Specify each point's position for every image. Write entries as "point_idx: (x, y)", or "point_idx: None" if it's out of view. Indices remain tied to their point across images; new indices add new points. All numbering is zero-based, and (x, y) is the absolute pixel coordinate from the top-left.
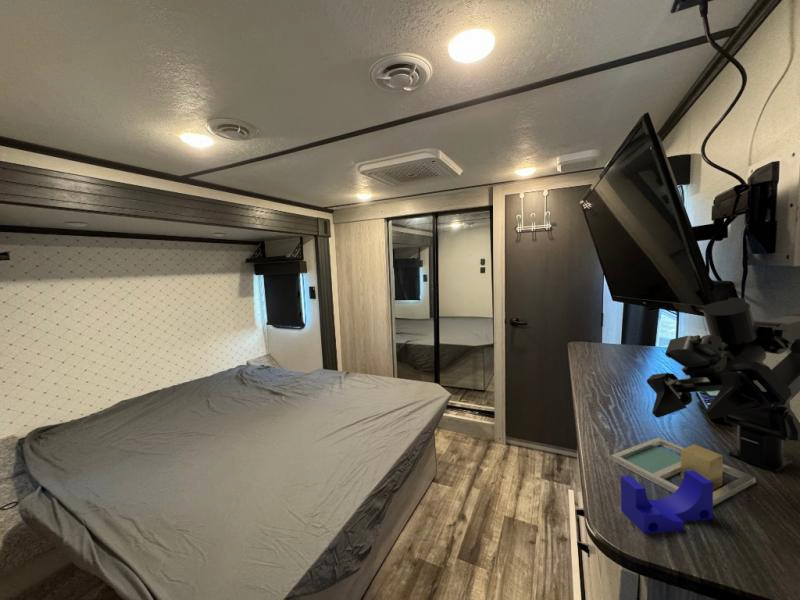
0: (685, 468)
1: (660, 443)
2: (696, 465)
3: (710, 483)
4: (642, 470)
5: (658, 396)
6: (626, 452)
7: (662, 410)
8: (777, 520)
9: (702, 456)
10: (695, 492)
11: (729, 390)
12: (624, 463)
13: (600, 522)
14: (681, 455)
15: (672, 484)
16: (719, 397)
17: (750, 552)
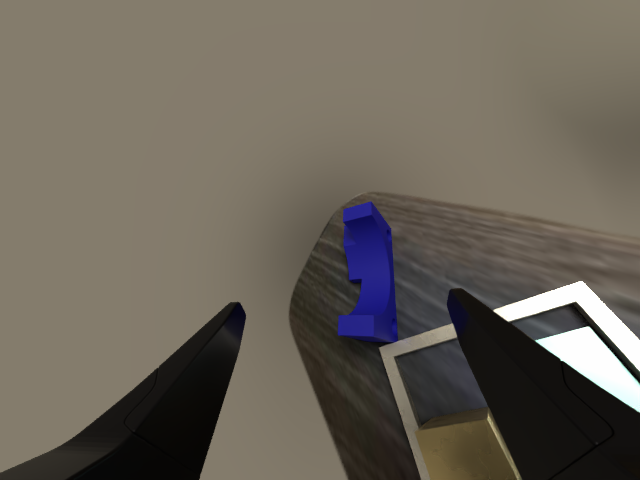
0: (476, 413)
1: None
2: (447, 421)
3: (338, 330)
4: None
5: (575, 386)
6: (619, 340)
7: (467, 338)
8: (353, 452)
9: (441, 444)
10: (356, 313)
11: (107, 411)
12: (535, 297)
13: (373, 199)
14: (485, 416)
15: (436, 340)
16: (170, 360)
17: (319, 330)
